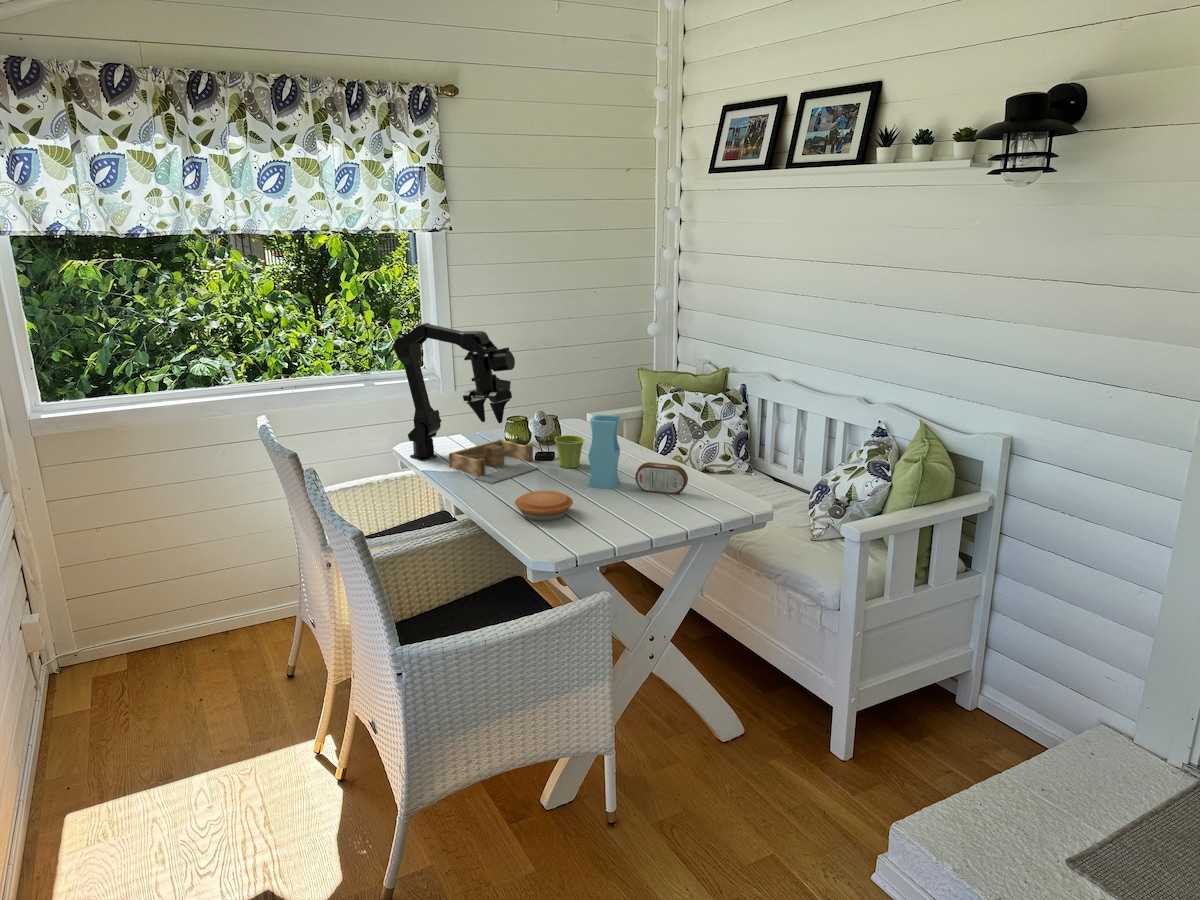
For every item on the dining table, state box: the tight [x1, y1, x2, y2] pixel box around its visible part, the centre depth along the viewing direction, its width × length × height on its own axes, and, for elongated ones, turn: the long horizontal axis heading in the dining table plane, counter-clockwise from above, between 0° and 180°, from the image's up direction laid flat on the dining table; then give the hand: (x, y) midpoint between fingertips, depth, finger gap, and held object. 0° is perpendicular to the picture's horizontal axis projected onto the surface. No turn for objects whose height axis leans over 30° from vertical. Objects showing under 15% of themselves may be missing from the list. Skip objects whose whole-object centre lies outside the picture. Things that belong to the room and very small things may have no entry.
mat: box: [474, 462, 540, 485], centre depth 268 cm, size 7×20×1 cm, turn 140°
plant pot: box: [554, 434, 585, 469], centre depth 275 cm, size 9×9×9 cm
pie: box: [514, 490, 574, 522], centre depth 234 cm, size 15×16×5 cm
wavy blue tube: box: [587, 414, 621, 490], centre depth 256 cm, size 8×8×20 cm
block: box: [484, 444, 505, 469], centre depth 276 cm, size 4×4×6 cm
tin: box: [634, 461, 689, 495], centre depth 251 cm, size 15×3×8 cm, turn 74°
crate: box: [448, 439, 534, 477], centre depth 277 cm, size 14×23×5 cm, turn 140°
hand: (491, 422), depth 272 cm, fingers open, 9 cm apart
